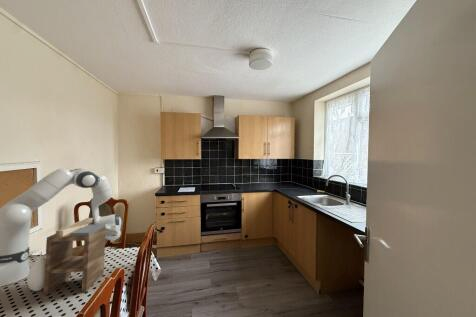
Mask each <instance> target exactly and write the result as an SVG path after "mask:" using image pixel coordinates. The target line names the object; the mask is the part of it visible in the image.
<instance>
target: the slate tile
mask: <svg viewBox="0 0 476 317" xmlns="http://www.w3.org/2000/svg"><path fill="white" fill-rule="evenodd" d="M103 227H104V224H91V223H90V224H88V225H85V226H83V227H82V228H80V229H78V230H76V231H74V232H72V233H70V236H89V235H91V234H93V233H95V232H96V231H98V230H100V229H102V228H103Z"/></svg>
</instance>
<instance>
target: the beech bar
mask: <svg viewBox="0 0 476 317" xmlns="http://www.w3.org/2000/svg"><path fill="white" fill-rule="evenodd" d="M92 222H93V218H91V217H86V218H84V219H80V221H77V222H75V223H72V224H69V225H66V226H65V227H62V228H60V229H58V230H56V231H55V234H56V236H64V235H66V234H69V233H71V232H73V231H75V230H77V229H79V228H81V227H84V226H87V225H91V223H92Z"/></svg>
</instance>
